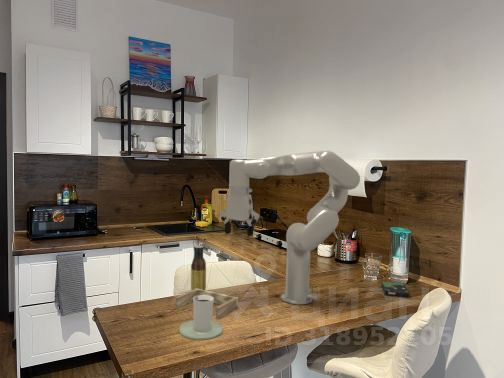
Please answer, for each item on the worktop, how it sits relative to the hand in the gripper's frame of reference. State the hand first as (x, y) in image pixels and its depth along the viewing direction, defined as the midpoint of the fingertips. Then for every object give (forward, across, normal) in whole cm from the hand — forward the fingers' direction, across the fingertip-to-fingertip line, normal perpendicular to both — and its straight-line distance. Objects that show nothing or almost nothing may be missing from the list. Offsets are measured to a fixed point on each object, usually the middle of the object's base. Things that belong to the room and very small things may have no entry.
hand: (238, 234), depth 158 cm
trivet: (+27, -2, +30) cm, 40 cm away
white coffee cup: (+26, -3, +30) cm, 40 cm away
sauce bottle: (+27, +20, -1) cm, 33 cm away
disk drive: (+30, -54, -50) cm, 79 cm away
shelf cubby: (+27, +7, +12) cm, 30 cm away
